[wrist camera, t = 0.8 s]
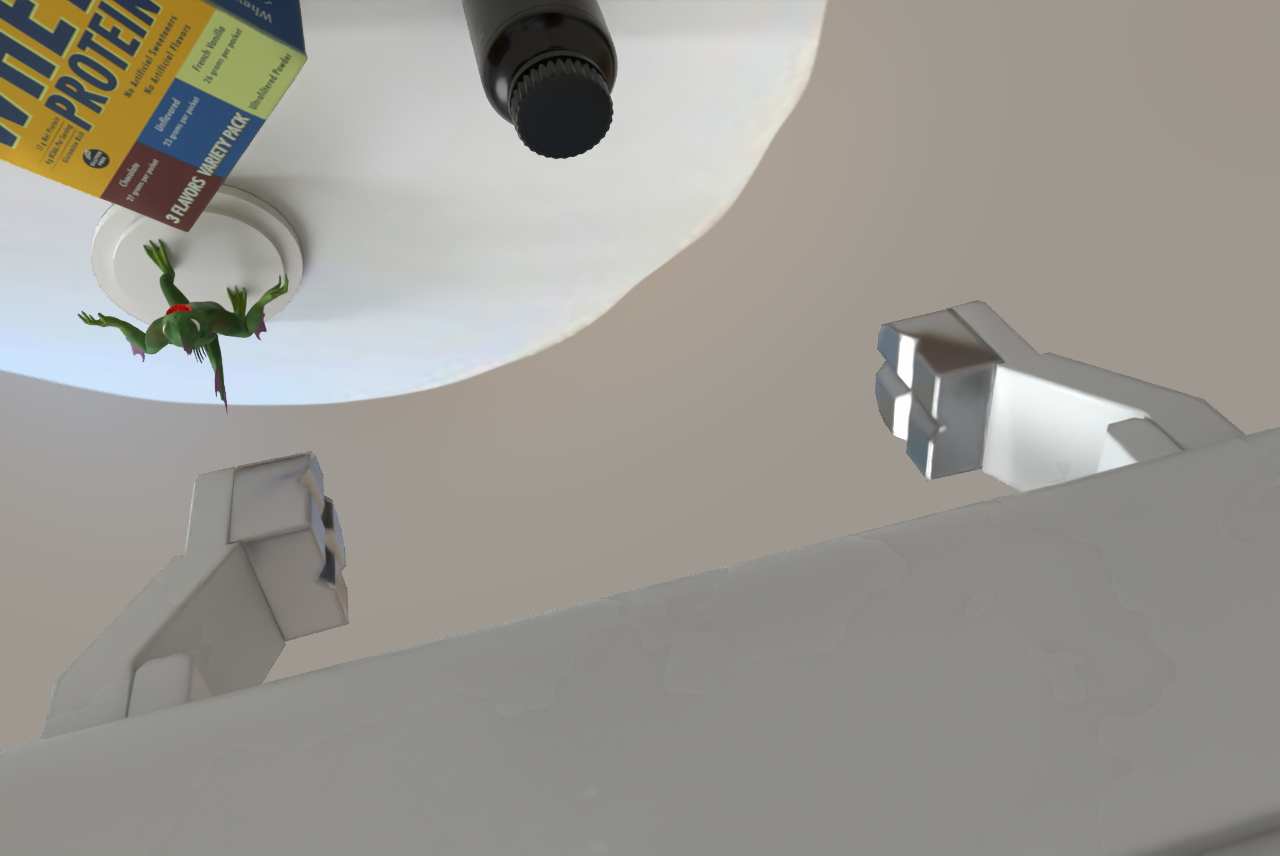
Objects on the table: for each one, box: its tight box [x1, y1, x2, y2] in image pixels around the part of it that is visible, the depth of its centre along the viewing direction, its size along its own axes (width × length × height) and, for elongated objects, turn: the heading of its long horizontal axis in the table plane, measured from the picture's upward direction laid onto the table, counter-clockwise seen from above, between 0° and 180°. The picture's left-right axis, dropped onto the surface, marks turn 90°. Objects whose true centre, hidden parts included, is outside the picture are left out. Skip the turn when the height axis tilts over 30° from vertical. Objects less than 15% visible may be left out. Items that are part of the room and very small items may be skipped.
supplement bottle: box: [462, 0, 618, 159], centre depth 53 cm, size 7×7×12 cm
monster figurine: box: [78, 184, 303, 411], centre depth 63 cm, size 12×12×10 cm
